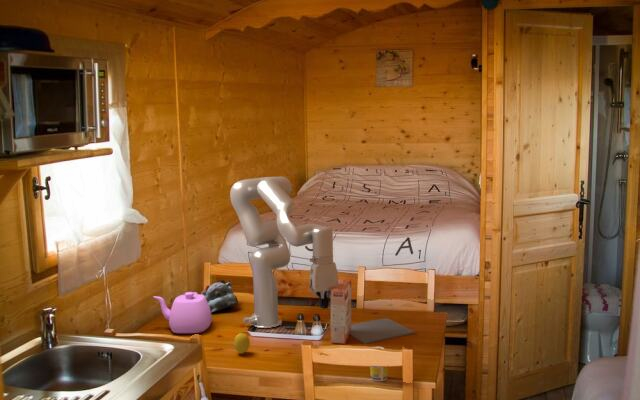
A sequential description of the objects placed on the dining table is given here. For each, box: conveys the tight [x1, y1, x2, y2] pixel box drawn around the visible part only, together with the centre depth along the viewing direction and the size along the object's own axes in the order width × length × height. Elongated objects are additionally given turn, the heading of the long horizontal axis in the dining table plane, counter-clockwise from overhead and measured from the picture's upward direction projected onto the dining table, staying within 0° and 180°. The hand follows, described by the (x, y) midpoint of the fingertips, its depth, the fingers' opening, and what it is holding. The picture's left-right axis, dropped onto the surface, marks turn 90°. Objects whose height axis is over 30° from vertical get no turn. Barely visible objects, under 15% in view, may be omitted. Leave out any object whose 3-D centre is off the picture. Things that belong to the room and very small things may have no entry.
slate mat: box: [348, 317, 416, 344], centre depth 272 cm, size 23×20×1 cm
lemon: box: [233, 332, 250, 355], centre depth 250 cm, size 6×6×8 cm
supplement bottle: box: [369, 346, 388, 382], centre depth 225 cm, size 6×6×10 cm
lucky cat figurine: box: [200, 279, 239, 314], centre depth 304 cm, size 15×12×14 cm
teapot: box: [152, 291, 213, 334], centre depth 280 cm, size 23×21×15 cm
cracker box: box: [330, 278, 352, 345], centre depth 263 cm, size 14×6×21 cm, turn 168°
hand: (324, 307), depth 260 cm, fingers closed
